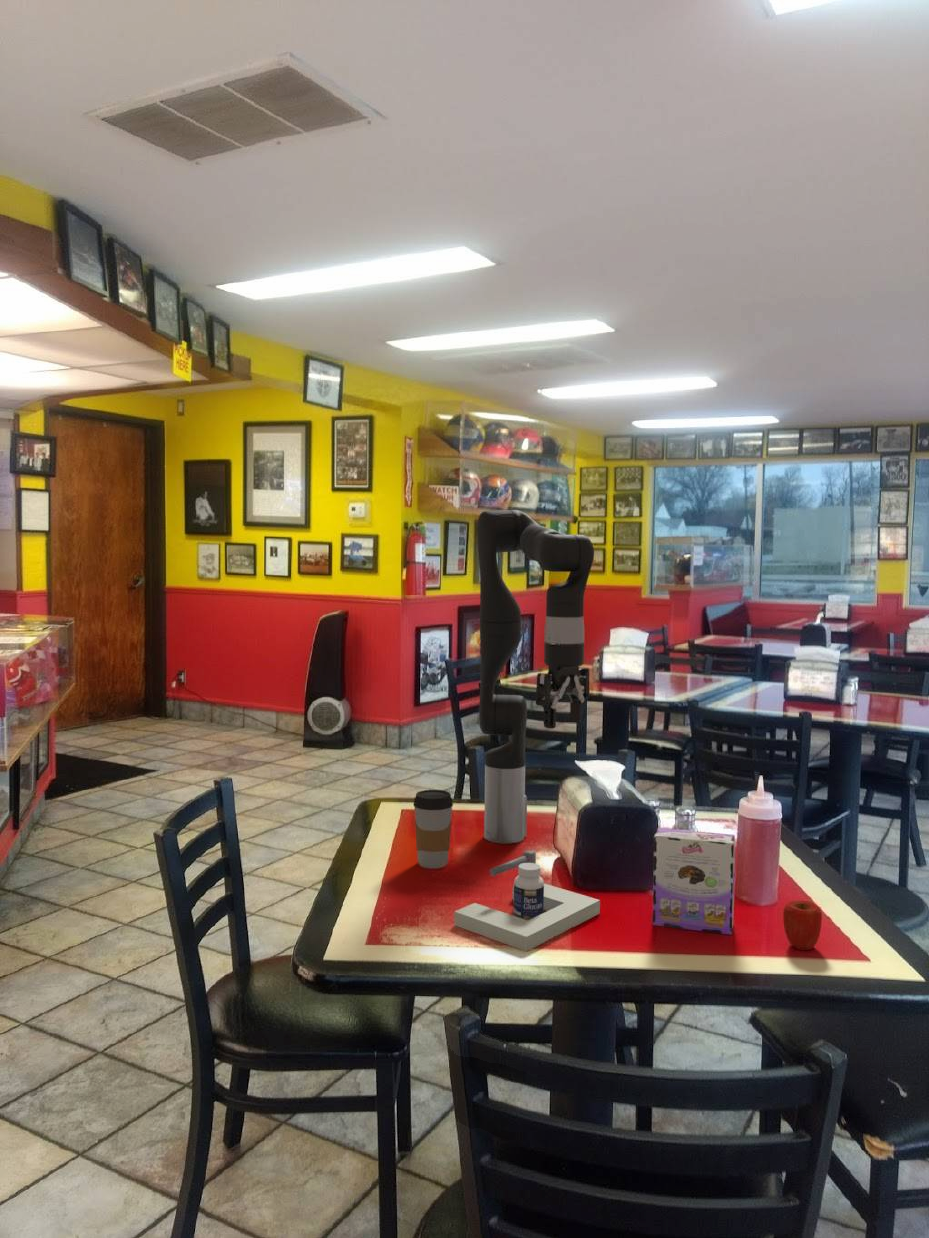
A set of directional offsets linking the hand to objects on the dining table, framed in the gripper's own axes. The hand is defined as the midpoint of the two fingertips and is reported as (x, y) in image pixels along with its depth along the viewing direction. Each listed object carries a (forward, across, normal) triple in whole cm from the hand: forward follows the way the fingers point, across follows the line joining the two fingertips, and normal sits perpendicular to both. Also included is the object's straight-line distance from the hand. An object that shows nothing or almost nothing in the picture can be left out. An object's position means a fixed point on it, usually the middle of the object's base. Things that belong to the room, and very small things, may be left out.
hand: (562, 724), depth 178 cm
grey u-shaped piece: (+33, +14, +3) cm, 36 cm away
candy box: (+33, -4, +26) cm, 43 cm away
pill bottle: (+33, +14, +3) cm, 36 cm away
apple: (+33, -8, +44) cm, 56 cm away
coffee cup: (+33, +4, -30) cm, 45 cm away
